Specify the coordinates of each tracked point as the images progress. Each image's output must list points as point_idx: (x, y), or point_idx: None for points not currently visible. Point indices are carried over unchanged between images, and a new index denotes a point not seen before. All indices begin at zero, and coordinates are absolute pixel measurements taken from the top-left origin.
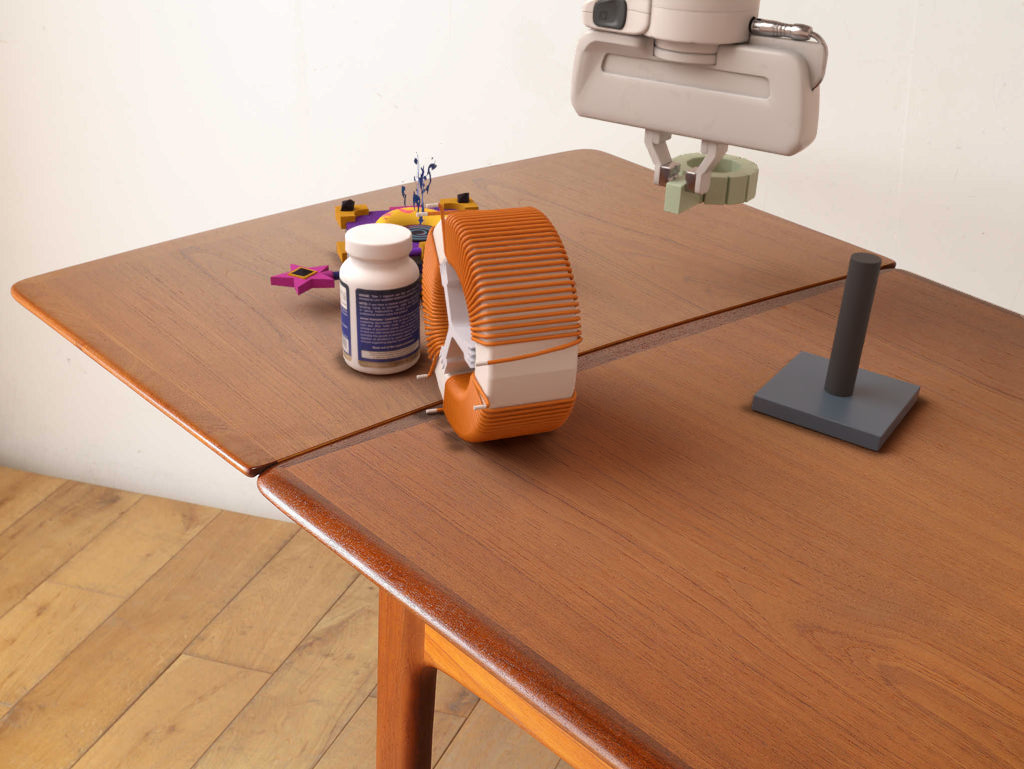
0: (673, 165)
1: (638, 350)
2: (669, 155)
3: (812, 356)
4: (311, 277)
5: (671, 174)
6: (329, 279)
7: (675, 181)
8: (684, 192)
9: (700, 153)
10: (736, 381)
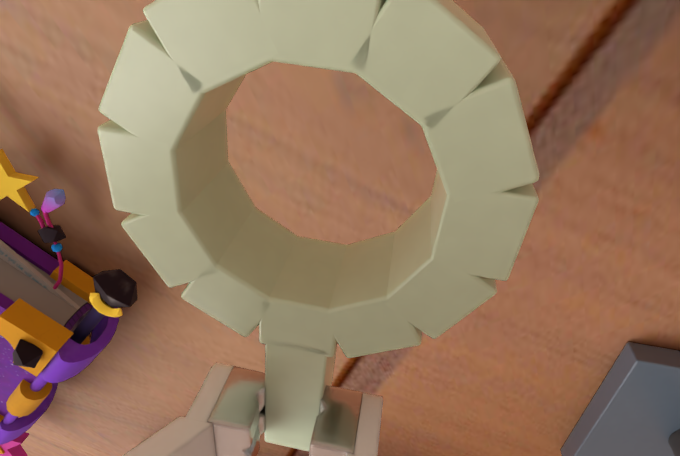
0: (242, 454)
1: (382, 376)
2: (192, 441)
3: (656, 372)
4: (4, 448)
5: (258, 445)
6: (18, 444)
7: (279, 427)
8: None
9: (150, 40)
10: (532, 403)
